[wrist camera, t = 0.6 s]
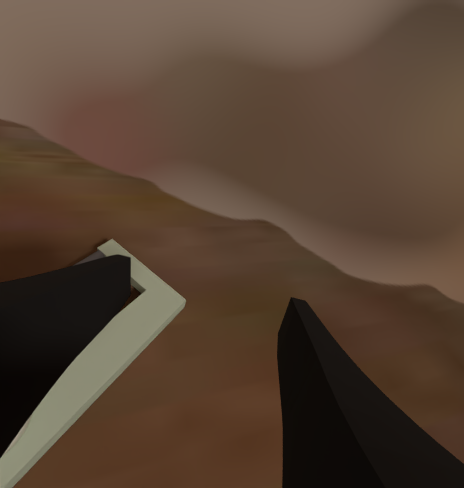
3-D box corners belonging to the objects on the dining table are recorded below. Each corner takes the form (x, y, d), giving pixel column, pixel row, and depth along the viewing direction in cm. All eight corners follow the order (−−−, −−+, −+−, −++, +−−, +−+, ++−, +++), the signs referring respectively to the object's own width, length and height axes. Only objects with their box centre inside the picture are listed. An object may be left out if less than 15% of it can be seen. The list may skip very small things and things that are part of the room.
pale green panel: (-38, 539, 14) (-60, 552, 12) (-131, 401, 16) (-159, 397, 15) (184, 307, 27) (186, 300, 25) (114, 248, 29) (112, 238, 28)
